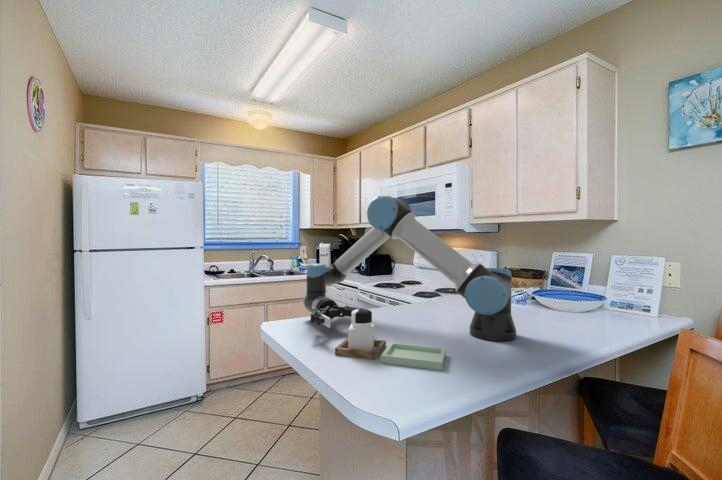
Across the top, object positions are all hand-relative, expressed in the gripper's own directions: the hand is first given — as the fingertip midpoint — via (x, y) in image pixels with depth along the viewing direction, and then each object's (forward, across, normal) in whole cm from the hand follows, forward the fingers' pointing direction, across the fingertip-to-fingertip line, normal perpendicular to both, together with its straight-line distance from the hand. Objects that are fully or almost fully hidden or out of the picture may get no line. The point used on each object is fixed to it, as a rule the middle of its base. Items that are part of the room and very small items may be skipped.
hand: (349, 320), depth 110 cm
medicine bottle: (+8, 0, -7) cm, 11 cm away
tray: (+20, -10, -7) cm, 24 cm away
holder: (+8, 0, -7) cm, 11 cm away
